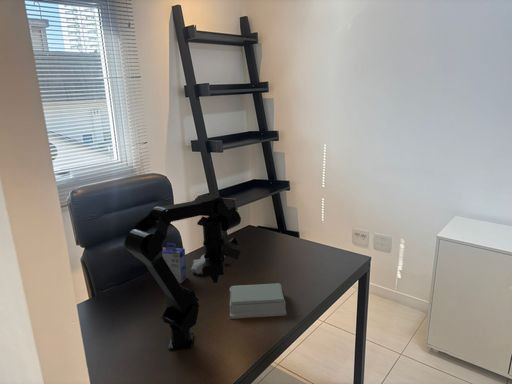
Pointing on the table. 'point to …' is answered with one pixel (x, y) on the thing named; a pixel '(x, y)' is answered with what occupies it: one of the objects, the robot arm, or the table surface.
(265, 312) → the base
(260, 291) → the duct cover
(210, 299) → the table surface
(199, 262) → the bunny figurine
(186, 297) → the robot arm
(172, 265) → the ink cartridge box
